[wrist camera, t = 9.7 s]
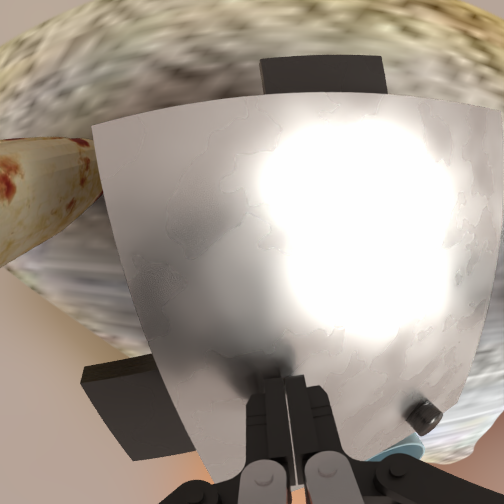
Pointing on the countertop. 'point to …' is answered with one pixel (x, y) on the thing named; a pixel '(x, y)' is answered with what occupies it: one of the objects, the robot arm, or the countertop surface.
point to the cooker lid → (298, 264)
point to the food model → (43, 189)
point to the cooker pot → (323, 74)
